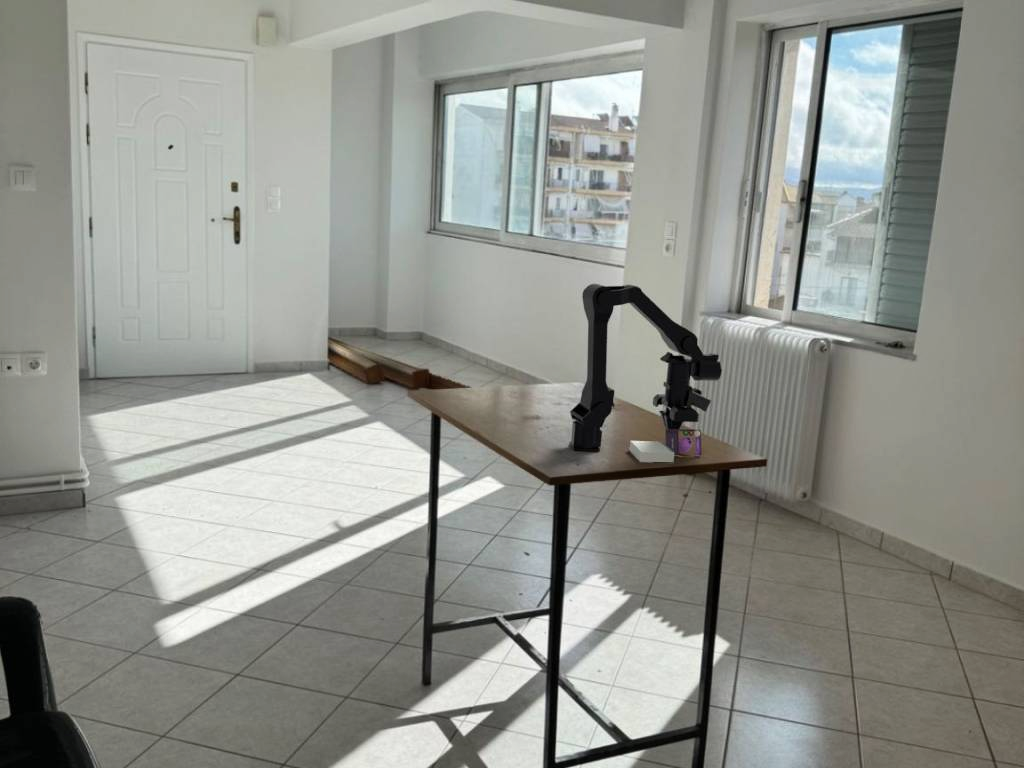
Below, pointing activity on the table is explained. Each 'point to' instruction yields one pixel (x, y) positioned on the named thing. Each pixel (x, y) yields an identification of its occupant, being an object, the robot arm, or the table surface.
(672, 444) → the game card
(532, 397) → the table surface
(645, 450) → the slab
